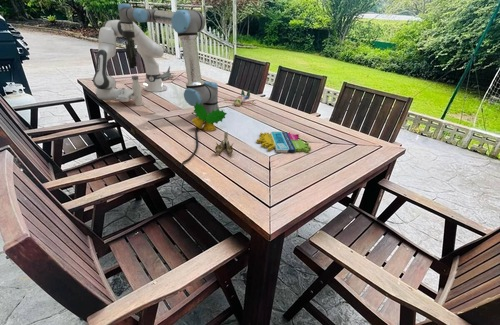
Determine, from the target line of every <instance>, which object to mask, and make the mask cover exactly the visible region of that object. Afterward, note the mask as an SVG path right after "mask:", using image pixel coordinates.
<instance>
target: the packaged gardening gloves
mask: <svg viewBox="0 0 500 325" xmlns="http://www.w3.org/2000/svg"><path fill="white" fill-rule="evenodd" d="M299 136H300V135H299V134H298V133H296V134H294V133H291V132H287V131H270V132H264V133H263V132H260V133H259V139H258V138H257V139H256V143H257V144H261V148H263V147H264V148H265V149H267V151H268V152H271V151H272V150H273V149H275V152H276V153H283V154H285V153H287V154H288V153H290V154H293V153H296V152H298V153H301V152H305V153H310V151H311V150H312V149H311V148H312V146H309V142H304V141H303V139H302V138H299Z"/></svg>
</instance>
